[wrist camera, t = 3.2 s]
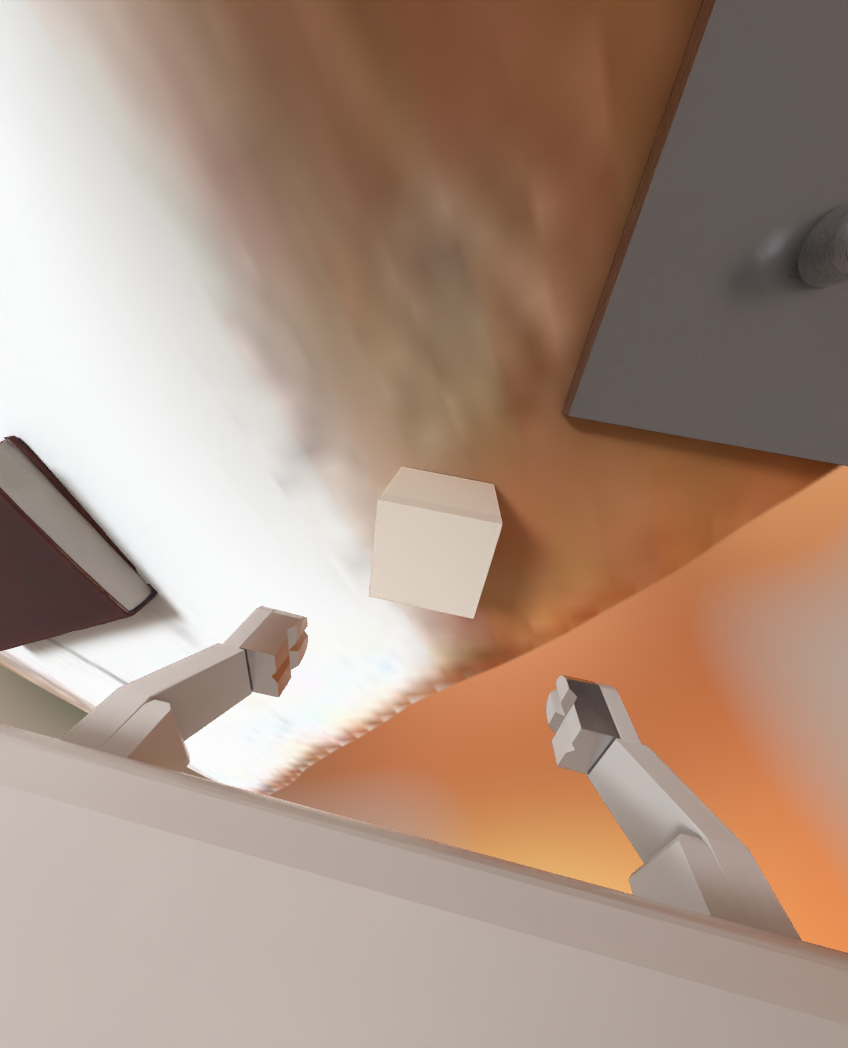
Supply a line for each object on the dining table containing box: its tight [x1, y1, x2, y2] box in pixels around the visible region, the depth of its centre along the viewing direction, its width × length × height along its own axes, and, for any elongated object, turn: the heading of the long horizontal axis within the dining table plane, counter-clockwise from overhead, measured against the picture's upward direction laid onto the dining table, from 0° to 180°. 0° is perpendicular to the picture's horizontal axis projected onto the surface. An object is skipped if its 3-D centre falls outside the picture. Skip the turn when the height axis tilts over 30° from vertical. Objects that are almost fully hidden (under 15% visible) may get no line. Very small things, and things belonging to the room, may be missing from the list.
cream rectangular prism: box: [369, 467, 503, 619], centre depth 17 cm, size 5×5×5 cm
